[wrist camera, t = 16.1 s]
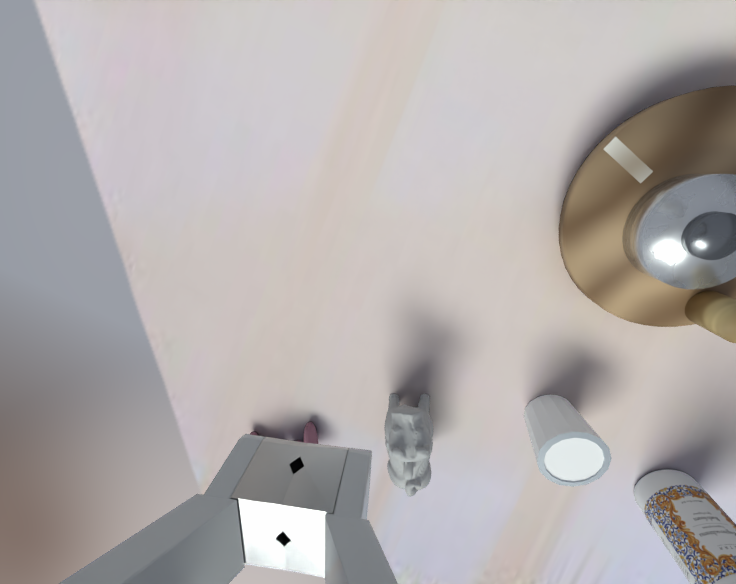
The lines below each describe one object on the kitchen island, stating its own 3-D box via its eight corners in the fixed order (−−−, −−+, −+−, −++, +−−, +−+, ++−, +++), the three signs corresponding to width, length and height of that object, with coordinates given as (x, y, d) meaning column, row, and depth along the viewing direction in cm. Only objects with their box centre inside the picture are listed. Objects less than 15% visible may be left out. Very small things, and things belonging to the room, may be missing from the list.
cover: (599, 233, 31) (625, 241, 27) (695, 149, 28) (739, 145, 24) (666, 298, 32) (699, 315, 28) (765, 224, 29) (817, 231, 25)
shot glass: (547, 379, 40) (574, 420, 33) (593, 412, 40) (628, 458, 34) (505, 417, 42) (522, 462, 35) (549, 447, 43) (573, 498, 36)
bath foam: (697, 464, 41) (939, 714, 22) (694, 509, 43) (912, 772, 24) (631, 468, 42) (806, 708, 23) (631, 511, 44) (792, 764, 25)
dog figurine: (430, 366, 41) (436, 428, 31) (431, 453, 45) (436, 533, 35) (385, 365, 42) (376, 426, 32) (390, 451, 46) (383, 529, 36)
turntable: (512, 233, 33) (530, 245, 28) (706, 31, 27) (777, -3, 22) (657, 357, 36) (699, 389, 30) (870, 197, 29) (971, 203, 24)
